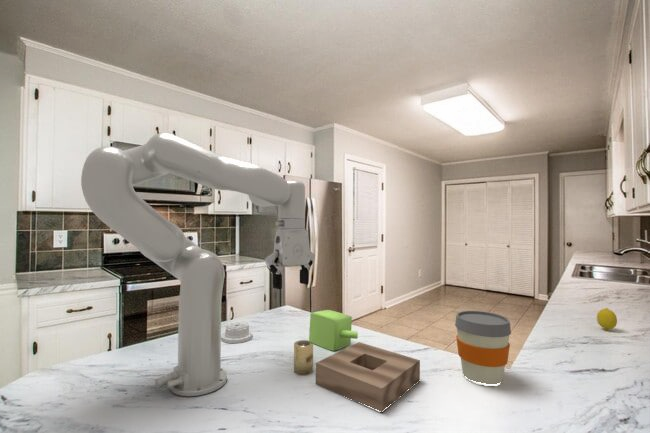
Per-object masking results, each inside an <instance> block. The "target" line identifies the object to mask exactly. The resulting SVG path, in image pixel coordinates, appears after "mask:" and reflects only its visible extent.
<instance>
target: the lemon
mask: <svg viewBox="0 0 650 433" xmlns="http://www.w3.org/2000/svg"><path fill="white" fill-rule="evenodd" d="M617 318H618V317H617V315H616V314H615V312H614V311H613V310H611V309H609V308H608V307H605V308H603V309H602V308H601V309H600V310H599V311H598V312H597V315H596V321H597V322H596V323H597V324H598V325H599V326H600V327H601V328H603V329H604V330H605V329H606V330H605V331H609V330H612V329H614V328H616V326H617V324H618V319H617Z"/></svg>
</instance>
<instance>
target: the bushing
mask: <svg viewBox="0 0 650 433" xmlns="http://www.w3.org/2000/svg"><path fill="white" fill-rule="evenodd" d="M313 372H314V343H313V342H311V341H309V339H307V340H305V339H301V340H297V341H295V342H294V343H293V373H294V374H295V375H296V376H297V375H298V376H309V375H311V374H313Z"/></svg>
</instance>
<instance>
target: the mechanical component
mask: <svg viewBox="0 0 650 433" xmlns="http://www.w3.org/2000/svg"><path fill="white" fill-rule="evenodd" d="M253 336H254V334H253V332H252V331H251V330H250V326H249V324H248V323H245V322H242V321H241V322H232V323H230V324H226V325H225V332H224V333H221V342H223V343H226V344H240V343H241V344H242V343H245V342H248V341H251V339H253Z"/></svg>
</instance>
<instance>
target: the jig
mask: <svg viewBox="0 0 650 433" xmlns="http://www.w3.org/2000/svg"><path fill="white" fill-rule="evenodd" d="M419 380H420V381H421V360H420V359H417V358H413V357H412V356H411V357H410V356H408V355H403V354H400V353H397V352H394V351H390V350H387V349H384V348H380V347H377V346H374V345H370V344H366V343H364V342H362V341H361V342H360V341H358V342H355V343H354V344H352V345H349V346H347V347H344V348H342V350H340V351H337V352H335V353H333V354H331V355H329V356H328V357H325V358H323V359H321V360H319V361H317V362H315V385H317V386H319V387H321V388H324V389H326V390H328V391H330V392H333V393H335V394H337V395H339V396H341V395H342V397H343V396H345V397H344V398H346V397H347V398H346V399H348V398H349V399H348V400H350V399H352V400H355V401H357V402H360V403H362V404H365V405H367V406H370V407H372V408H374V409H377V410H379V411H381V412H382V411H383V410H384V409H385V408H386V407H388V406H389V405H390V404H392V403H393V402H394V401H396V400H397V399H398V398H399V397H400V396H402V395H403V394H404V393H405V392H406V391H407V390H408V389H410V388H411V387H412V386H413V385H414V384H416V383H417V382H418V381H419ZM420 381H419V382H420ZM419 382H418V383H419ZM418 383H417V384H418ZM417 384H416V385H417ZM414 386H415V385H414ZM414 386H413V387H414ZM413 387H412V388H413ZM412 388H411V389H412ZM411 389H410V390H411ZM407 392H408V391H407ZM407 392H406V393H407ZM406 393H405V394H406ZM405 394H404V395H405ZM404 395H403V396H404ZM403 396H402V397H403ZM400 398H401V397H400ZM400 398H399V399H400ZM399 399H398V400H399ZM352 400H351V401H352ZM398 400H397V401H398ZM355 401H354V402H355ZM397 401H396V402H397ZM357 402H356V403H357ZM393 404H394V403H393ZM393 404H392V405H393Z"/></svg>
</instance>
